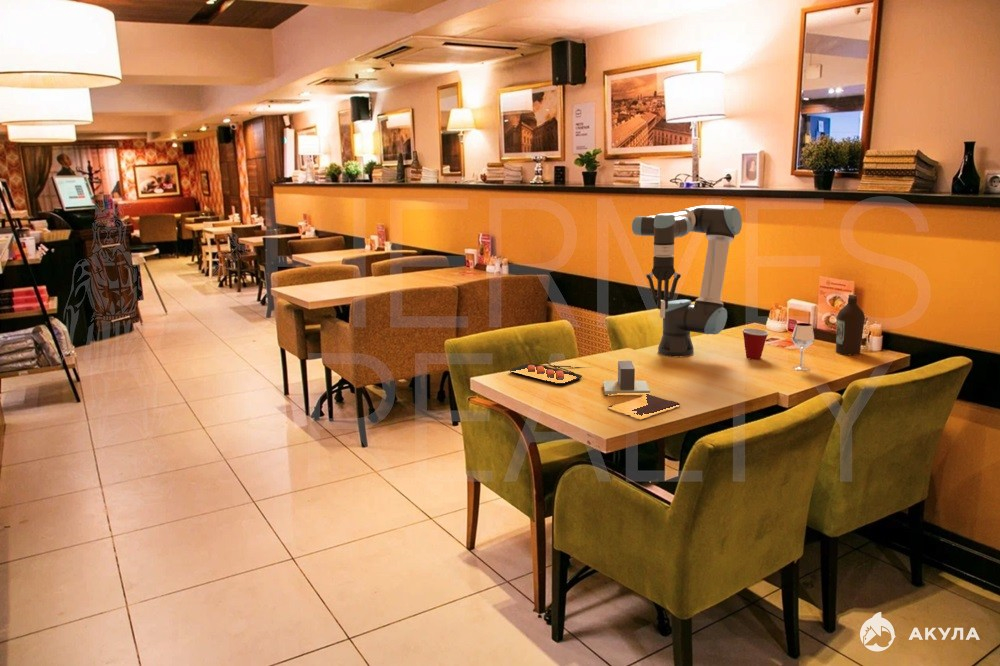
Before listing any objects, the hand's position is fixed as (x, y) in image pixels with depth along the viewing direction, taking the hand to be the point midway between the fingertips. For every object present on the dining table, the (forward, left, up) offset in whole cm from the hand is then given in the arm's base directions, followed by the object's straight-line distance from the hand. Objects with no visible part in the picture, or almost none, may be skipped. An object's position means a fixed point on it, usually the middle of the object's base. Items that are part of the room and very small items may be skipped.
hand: (662, 317), depth 273 cm
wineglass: (-12, +57, -25) cm, 63 cm away
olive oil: (-35, +84, -25) cm, 94 cm away
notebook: (+34, -11, -25) cm, 44 cm away
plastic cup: (-28, +43, -25) cm, 57 cm away
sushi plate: (-10, -40, -25) cm, 48 cm away
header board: (+15, -15, -24) cm, 32 cm away
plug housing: (+15, -15, -22) cm, 31 cm away
